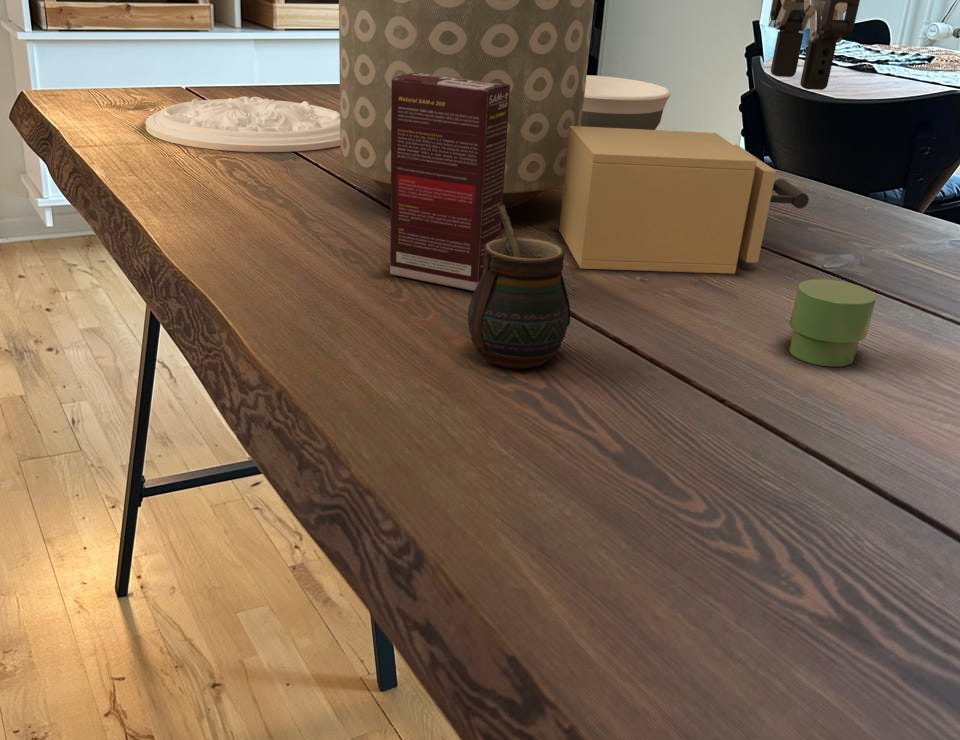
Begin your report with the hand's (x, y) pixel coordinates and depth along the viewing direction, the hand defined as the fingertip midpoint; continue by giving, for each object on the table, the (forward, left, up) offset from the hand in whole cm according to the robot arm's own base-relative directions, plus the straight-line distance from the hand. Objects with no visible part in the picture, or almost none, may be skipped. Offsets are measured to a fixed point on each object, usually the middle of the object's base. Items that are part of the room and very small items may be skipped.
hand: (796, 81), depth 93 cm
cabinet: (+12, 0, -16) cm, 20 cm away
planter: (+29, -16, -16) cm, 37 cm away
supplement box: (+32, +10, -16) cm, 37 cm away
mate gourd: (+28, +28, -16) cm, 43 cm away
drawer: (+7, 0, -15) cm, 16 cm away
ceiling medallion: (+54, -51, -16) cm, 76 cm away
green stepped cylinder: (+4, +26, -16) cm, 31 cm away
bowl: (+8, -48, -16) cm, 51 cm away
